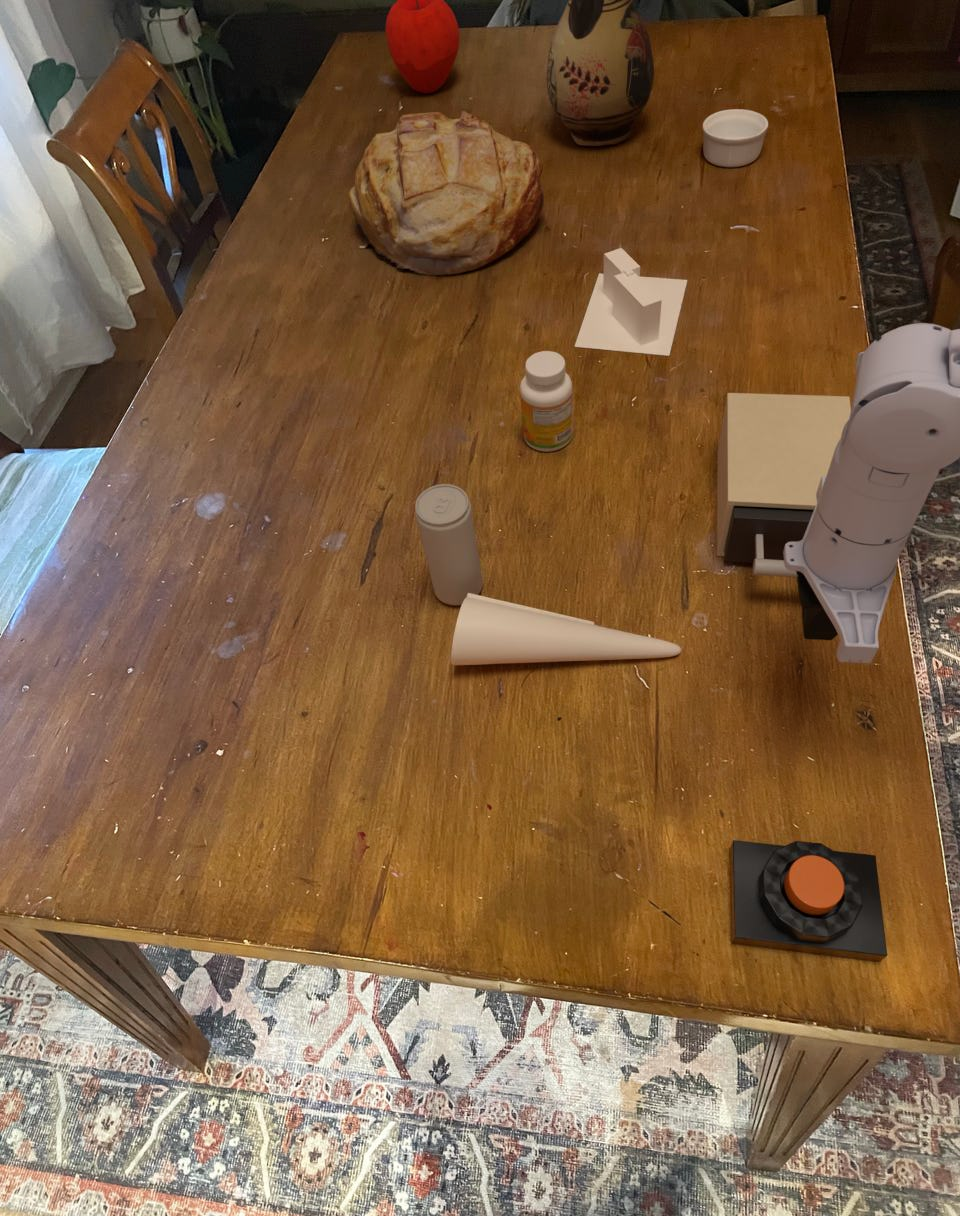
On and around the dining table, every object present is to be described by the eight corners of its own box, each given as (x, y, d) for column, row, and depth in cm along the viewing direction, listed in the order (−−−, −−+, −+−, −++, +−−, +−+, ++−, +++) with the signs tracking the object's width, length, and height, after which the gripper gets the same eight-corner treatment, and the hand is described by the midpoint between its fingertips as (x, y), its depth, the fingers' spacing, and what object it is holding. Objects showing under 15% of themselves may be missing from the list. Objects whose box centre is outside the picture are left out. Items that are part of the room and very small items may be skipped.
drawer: (841, 605, 75) (859, 562, 70) (724, 597, 77) (734, 554, 72) (827, 463, 85) (842, 417, 80) (724, 459, 87) (732, 413, 82)
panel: (869, 862, 63) (882, 846, 60) (880, 962, 59) (895, 949, 56) (729, 847, 64) (736, 830, 61) (731, 943, 60) (738, 930, 58)
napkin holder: (671, 355, 98) (675, 313, 93) (574, 347, 100) (573, 305, 96) (687, 279, 106) (692, 236, 101) (597, 273, 109) (598, 231, 104)
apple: (477, 77, 145) (468, -15, 134) (440, 108, 139) (427, 15, 128) (419, 68, 149) (406, -22, 138) (381, 98, 144) (365, 7, 133)
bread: (406, 177, 130) (380, 71, 118) (573, 187, 120) (562, 71, 108) (324, 270, 118) (286, 162, 106) (501, 290, 108) (480, 173, 96)
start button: (835, 866, 60) (842, 858, 58) (840, 918, 58) (846, 911, 56) (782, 860, 60) (787, 852, 59) (785, 912, 58) (790, 904, 57)
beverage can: (490, 574, 82) (478, 488, 72) (473, 613, 79) (458, 529, 70) (444, 564, 83) (425, 478, 73) (426, 602, 81) (404, 519, 71)
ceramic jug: (592, 99, 136) (594, -143, 112) (670, 124, 129) (691, -128, 104) (520, 144, 130) (506, -102, 105) (598, 173, 123) (602, -83, 98)
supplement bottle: (526, 418, 94) (521, 345, 86) (574, 419, 93) (574, 346, 85) (520, 452, 91) (515, 380, 83) (571, 454, 90) (570, 381, 82)
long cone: (669, 721, 73) (450, 678, 75) (674, 663, 77) (466, 623, 79) (683, 683, 68) (450, 638, 71) (688, 623, 72) (467, 582, 75)
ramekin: (687, 160, 122) (690, 129, 119) (720, 133, 126) (724, 102, 122) (742, 176, 118) (747, 145, 115) (774, 148, 122) (780, 117, 118)
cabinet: (841, 563, 78) (863, 507, 72) (716, 556, 80) (727, 500, 74) (830, 455, 86) (849, 396, 80) (717, 450, 88) (727, 392, 82)
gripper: (789, 428, 57) (756, 555, 68) (809, 601, 49) (768, 713, 60) (900, 430, 56) (849, 558, 67) (939, 607, 48) (873, 720, 59)
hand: (817, 632), depth 64 cm, fingers closed
